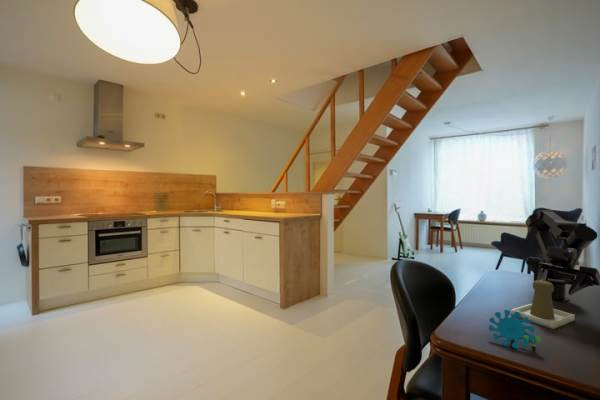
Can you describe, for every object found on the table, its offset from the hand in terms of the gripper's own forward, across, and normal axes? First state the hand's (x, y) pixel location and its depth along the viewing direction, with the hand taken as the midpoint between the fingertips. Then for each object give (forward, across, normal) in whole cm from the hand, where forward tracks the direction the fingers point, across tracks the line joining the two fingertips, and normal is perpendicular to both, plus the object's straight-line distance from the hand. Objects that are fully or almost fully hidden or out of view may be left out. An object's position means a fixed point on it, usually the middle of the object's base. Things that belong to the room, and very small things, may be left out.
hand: (551, 289), depth 96 cm
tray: (+10, 0, +1) cm, 10 cm away
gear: (+29, +6, -18) cm, 34 cm away
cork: (+10, 0, +1) cm, 10 cm away
